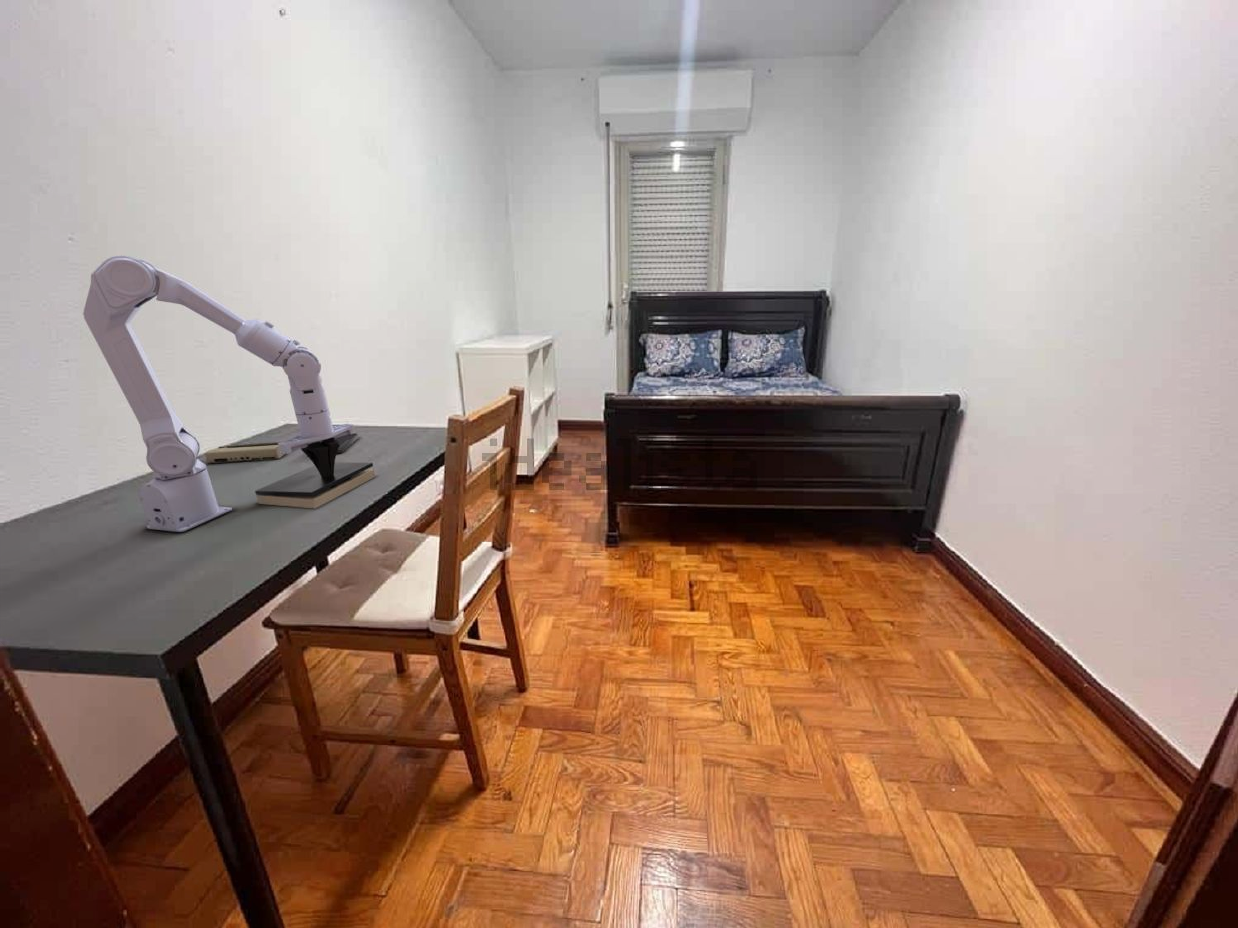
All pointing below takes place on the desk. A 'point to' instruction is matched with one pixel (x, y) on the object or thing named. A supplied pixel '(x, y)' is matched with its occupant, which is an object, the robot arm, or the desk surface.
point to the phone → (346, 441)
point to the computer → (244, 452)
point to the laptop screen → (312, 480)
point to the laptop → (320, 497)
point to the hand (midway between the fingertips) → (328, 476)
